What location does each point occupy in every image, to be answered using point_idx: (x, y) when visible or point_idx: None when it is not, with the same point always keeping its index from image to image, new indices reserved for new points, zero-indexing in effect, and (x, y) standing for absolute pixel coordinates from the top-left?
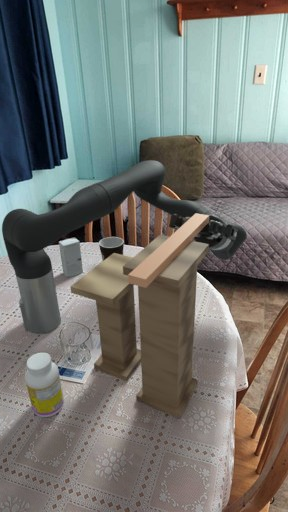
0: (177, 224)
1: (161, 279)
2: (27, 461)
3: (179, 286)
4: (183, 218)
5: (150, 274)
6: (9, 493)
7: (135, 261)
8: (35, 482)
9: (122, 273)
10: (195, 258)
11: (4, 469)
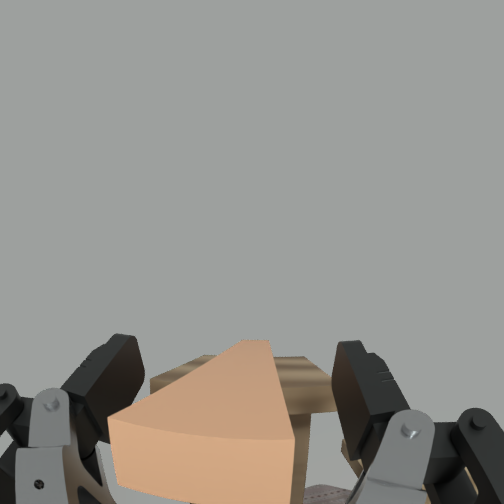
0: (339, 405)
1: None
2: (337, 498)
3: None
4: (381, 439)
5: (241, 340)
6: (325, 486)
7: (296, 359)
8: (315, 495)
9: None
10: (185, 365)
11: (346, 489)
